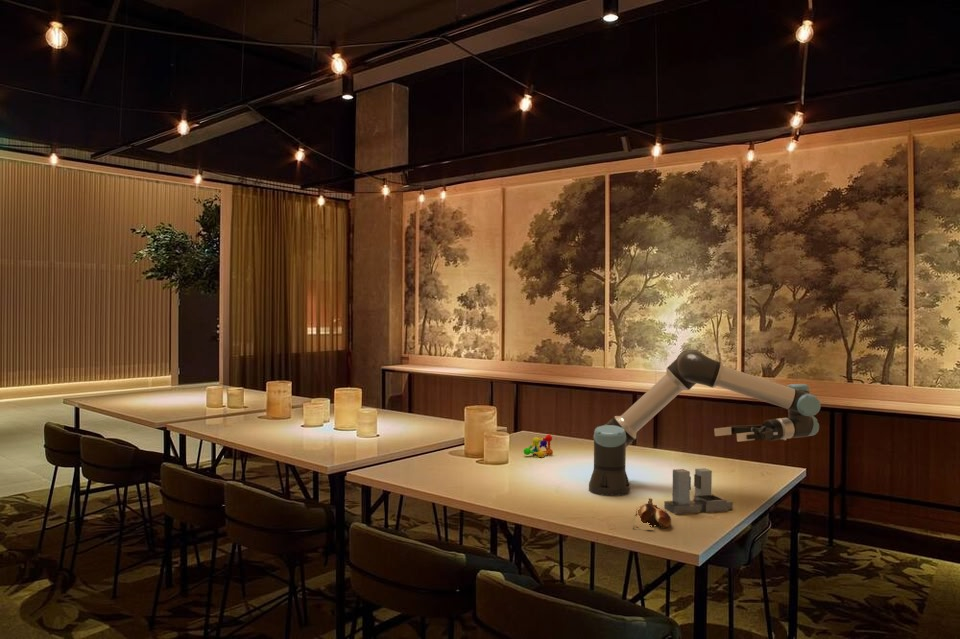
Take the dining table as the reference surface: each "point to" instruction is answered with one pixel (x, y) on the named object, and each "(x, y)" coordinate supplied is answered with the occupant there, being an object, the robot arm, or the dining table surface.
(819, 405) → the robot arm
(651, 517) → the ballet pointe shoes
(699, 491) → the gray rectangular block
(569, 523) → the dining table surface
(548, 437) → the molecular model
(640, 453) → the dining table surface
